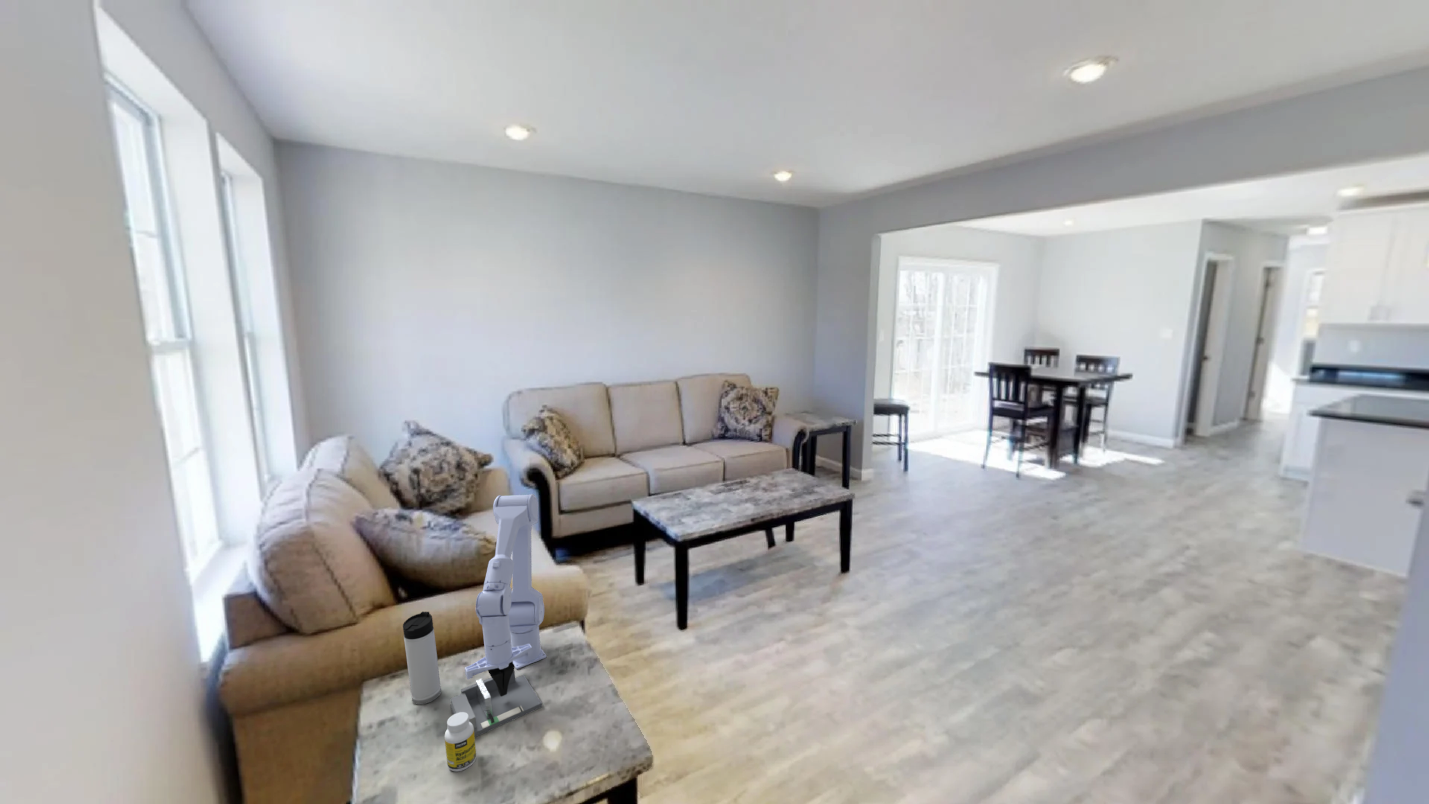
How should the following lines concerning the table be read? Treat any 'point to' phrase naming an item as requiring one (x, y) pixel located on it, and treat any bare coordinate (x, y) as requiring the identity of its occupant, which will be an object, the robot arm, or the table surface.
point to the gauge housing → (497, 703)
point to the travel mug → (422, 658)
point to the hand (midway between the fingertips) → (502, 693)
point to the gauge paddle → (484, 699)
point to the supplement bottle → (460, 742)
